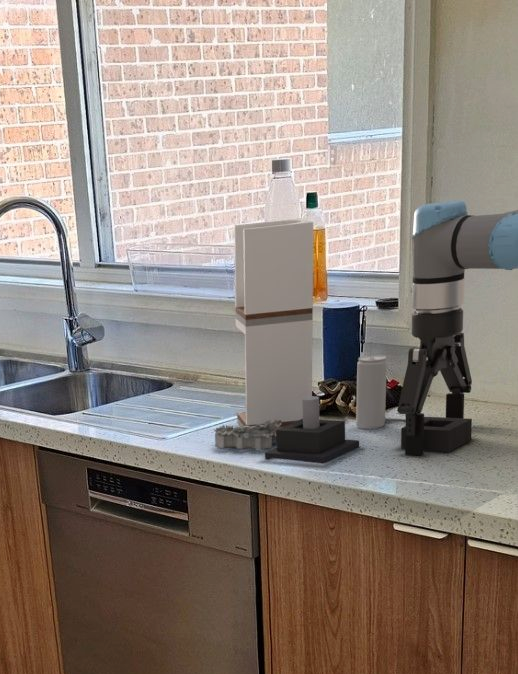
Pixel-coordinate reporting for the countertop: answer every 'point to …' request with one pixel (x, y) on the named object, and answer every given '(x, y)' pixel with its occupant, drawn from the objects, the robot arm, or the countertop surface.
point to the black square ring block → (310, 437)
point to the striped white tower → (275, 317)
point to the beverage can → (371, 392)
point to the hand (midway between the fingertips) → (434, 444)
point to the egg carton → (247, 435)
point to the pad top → (443, 433)
